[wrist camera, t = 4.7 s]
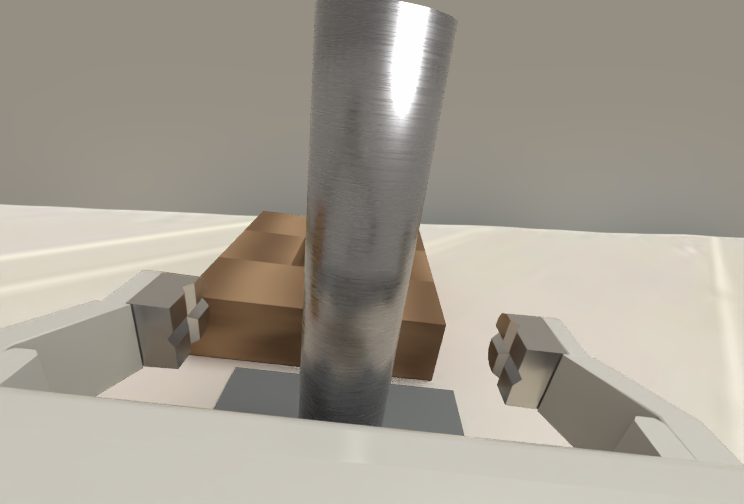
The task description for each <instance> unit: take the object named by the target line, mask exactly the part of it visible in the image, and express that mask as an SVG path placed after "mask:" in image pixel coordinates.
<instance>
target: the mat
mask: <svg viewBox="0 0 744 504" xmlns="http://www.w3.org/2000/svg"><path fill="white" fill-rule="evenodd" d="M299 388H300V374H294V373H284V372H275V371H265V370H256V369H247V368H237V367H236V368H235V370H234V372H233V374H232V375H231V377H230V379H229V381H228V383H227V385H226V387H225V389H224V391H223V393H222V395H221V397H220V399H219V401H218V402H217V404H216V406H215V408H214V410H224V411H233V412H242V413H252V414H261V415H270V416H280V417H289V418H298V412H299ZM382 427H385V428H394V429H404V430H413V431H422V432H432V433H441V434H450V435H460V436H464V433H463V429H462V424H461V420H460V416H459V412H458V408H457V404H456V400H455V396H454V392H453V391H452V390H443V389H434V388H424V387H415V386H406V385H396V384H390V387H389V392H388V398H387V403H386V408H385V414H384V419H383V425H382Z"/></svg>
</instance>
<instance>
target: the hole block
mask: <svg viewBox="0 0 744 504" xmlns="http://www.w3.org/2000/svg"><path fill="white" fill-rule="evenodd" d="M305 240H306V216H299V215H291V214H283V213H275V212H267V211H263V212H262V213H261V214H260V215H259V216H258V217H257V218H256V219H255V220H254V221H253V222H252V223H251V224H250V225H249V226H248V227H247V228H246V229H245V231H244V232H243V233H242V234H241V235H240V236H239V237H238V238H237V239H236V240H235V241H234V242H233V243H232V244H231V245H230V246H229V247H228V248H227V249H226V250H225V251H224V252H223V253H222V254H221V255H220V256H219V257H218V259H217V260H216V261H215V262H214V263H213V264H212V265H211V266H210V267H209V268H208V269H207V270H206V271H205V272H204V273H203V274H202V275H201V276H200V277H203V278H204V279H205V280H206V282H207V290H208V292H207V293H206V294H205V296H204V297H203V299H204V300H205V301H206V303H207V304H208V305H209V322H208V325H207V328H206V330H205V333H204V334H203V336H202V337H201V338H200V340H198V341H196V342H194V343H192V344H191V350H192V351H191V352H190V354H191V355H200V356H210V357H219V358H228V359H237V360H247V361H256V362H265V363H274V364H284V365H293V366H300V363H301V338H302V314H303V289H304V264H305ZM445 327H446V323H445V320H444V316H443V313H442V309H441V306H440V302H439V299H438V295H437V292H436V288H435V284H434V281H433V277H432V274H431V270H430V267H429V263H428V260H427V256H426V253H425V249H424V246H423V242H422V239H421V235H420V232H418V237H417V243H416V248H415V253H414V259H413V264H412V269H411V275H410V280H409V286H408V291H407V296H406V302H405V307H404V312H403V318H402V323H401V328H400V334H399V339H398V344H397V350H396V355H395V360H394V366H393V371H392V376H395V377H404V378H414V379H423V380H432V377H433V373H434V369H435V365H436V361H437V358H438V354H439V350H440V346H441V342H442V338H443V335H444V331H445Z"/></svg>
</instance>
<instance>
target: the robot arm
mask: <svg viewBox="0 0 744 504" xmlns="http://www.w3.org/2000/svg"><path fill="white" fill-rule="evenodd" d="M207 292H208V290H207V282H206V280H205V279H204V278H203V277H198V276H190V275H183V274H176V273H169V272H162V271H153V270H143V271H141V272H140V273H139V274H137V275H136V276H135V277H133V278H132V279H131V280H129V281H128V282H127V283H125V284H124V285H122V286H121V287H120V288H118V289H117V290H116V291H114V292H113V293H112V294H110V295H109V296H108V297H106V298H105V299H104V300H102V301H97V300H95V301H91V302H88V303H85V304H81V305H78V306H75V307H71V308H68V309H65V310H61V311H58V312H55V313H51V314H48V315H45V316H41V317H38V318H35V319H31V320H28V321H25V322H21V323H18V324H15V325H12V326H8V327H5V328H2V329H0V504H744V465H743V464H742V463H741V462H740V461H739V460H738V459H737V458H736V457H735V456H734V455H733V453H732V452H731V451H730V450H729V449H728V448H727V447H726V446H725V445H724V444H723V443H722V442H721V441H720V440H719V439H718V438H717V437H716V436H715V435H714V434H713V433H712V432H711V431H710V430H709V429H708V428H707V427H706V426H705V425H704V424H703V423H702V422H701V421H699V420H698V419H696V418H694V417H693V416H691V415H689V414H688V413H686V412H684V411H683V410H681V409H679V408H678V407H676V406H674V405H673V404H671V403H669V402H668V401H666V400H664V399H663V398H661V397H660V396H658V395H656V394H655V393H653V392H651V391H650V390H648V389H646V388H645V387H643V386H641V385H640V384H638V383H636V382H635V381H633V380H631V379H630V378H628V377H626V376H625V375H623V374H621V373H620V372H618V371H616V370H615V369H613V368H611V367H610V366H608V365H606V364H605V363H603V362H601V361H600V360H598V359H596V358H592V357H589V356H588V355H587V353H586V352H585V351H584V349H583V348H582V347H581V346H580V344H579V343H578V342H577V341H576V339H575V338H574V337H573V336H572V334H571V333H570V332H569V331H568V329H567V328H566V327H565V326H564V324H563V323H562V322H561V320H559V319H557V318H550V317H536V316H526V315H515V314H504V313H502V314H501V315H500V317H499V318H498V321H497V324H496V327H497V329H498V331H499V333H498V334H497V335H495V336H494V337H493V338H492V339H491V342H490V345H489V351H488V360H489V365H490V368H491V371H492V373H494V374H495V375H496V376H497V377H498V378H499V381H498V384H497V386H498V388H499V391H500V393H501V396H502V398H503V401H504V403H505V405H509V406H516V407H523V408H531V409H538V412H539V413H540V414H541V415H542V416H543V417H544V418H545V419H546V420H547V421H548V422H549V423H550V424H551V425H552V426H553V427H554V428H555V429H556V430H557V431H558V432H559V433H560V434H561V435H562V436H563V437H564V438H565V439H566V440H567V441H568V442H569V443H570V444H571V445H572V446H573V447H574V448H572V447H563V446H553V445H544V444H534V443H525V442H516V441H506V440H497V439H488V438H478V437H469V436H460V435H450V434H441V433H432V432H422V431H413V430H404V429H394V428H385V427H375V426H366V425H356V424H346V423H337V422H327V421H318V420H308V419H299V418H289V417H280V416H270V415H261V414H252V413H242V412H233V411H224V410H214V409H205V408H195V407H186V406H177V405H167V404H158V403H149V402H139V401H130V400H120V399H111V398H102V397H96V396H97V395H99V394H101V393H102V392H104V391H106V390H107V389H109V388H110V387H112V386H114V385H115V384H117V383H119V382H120V381H122V380H124V379H125V378H127V377H129V376H130V375H132V374H134V373H135V372H137V371H139V370H140V369H142V368H143V366H146V367H159V368H171V369H179V367H180V366H181V365H182V363H183V362H184V360H185V359H186V358H187V356H188V355H189V354H190V352H191V351H192V350H191V344H192V343H194V342H196V341H198V340H200V338H201V337H202V336H203V334H204V333H205V330H206V328H207V325H208V322H209V305H208V304H207V303H206V301H205V300H204V299H203V297H204V296H205V294H206V293H207Z"/></svg>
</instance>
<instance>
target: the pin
mask: <svg viewBox="0 0 744 504" xmlns="http://www.w3.org/2000/svg"><path fill="white" fill-rule="evenodd" d="M456 29H457V21H456V20H455V19H454V18H453V17H451V16H450V15H447V14H445V13H443V12H440V11H438V10H434V9H431V8H428V7H424V6H420V5H416V4H411V3H406V2H401V1H394V0H318V1H317V2H316V3H315V17H314V42H313V43H314V44H313V68H312V91H311V116H310V142H309V167H308V190H307V191H308V192H307V215H306V240H305V264H304V289H303V314H302V338H301V363H300V388H299V412H298V418H299V419H308V420H318V421H327V422H337V423H346V424H356V425H366V426H375V427H382V425H383V419H384V414H385V408H386V403H387V398H388V392H389V387H390V382H391V376H392V371H393V366H394V360H395V355H396V350H397V344H398V339H399V334H400V328H401V323H402V318H403V312H404V307H405V302H406V296H407V291H408V286H409V280H410V275H411V269H412V264H413V259H414V253H415V248H416V243H417V237H418V232H419V227H420V221H421V216H422V211H423V205H424V200H425V195H426V189H427V184H428V178H429V173H430V167H431V162H432V157H433V152H434V147H435V141H436V135H437V130H438V125H439V120H440V114H441V109H442V104H443V98H444V92H445V88H446V82H447V77H448V72H449V66H450V61H451V56H452V50H453V45H454V40H455V34H456Z"/></svg>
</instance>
